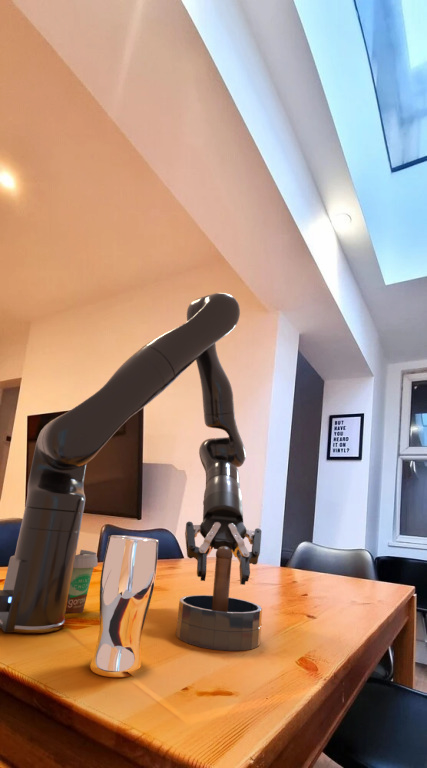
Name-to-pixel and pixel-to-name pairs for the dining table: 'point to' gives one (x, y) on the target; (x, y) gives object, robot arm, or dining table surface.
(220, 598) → the rod
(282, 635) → the dining table surface
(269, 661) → the dining table surface
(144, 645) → the dining table surface
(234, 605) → the bowl
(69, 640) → the dining table surface
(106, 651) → the beer glass
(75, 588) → the food container
